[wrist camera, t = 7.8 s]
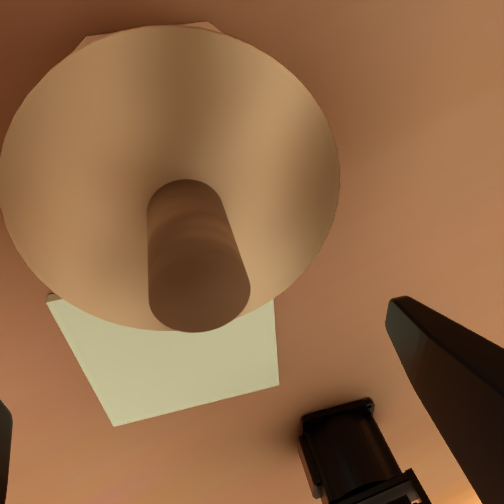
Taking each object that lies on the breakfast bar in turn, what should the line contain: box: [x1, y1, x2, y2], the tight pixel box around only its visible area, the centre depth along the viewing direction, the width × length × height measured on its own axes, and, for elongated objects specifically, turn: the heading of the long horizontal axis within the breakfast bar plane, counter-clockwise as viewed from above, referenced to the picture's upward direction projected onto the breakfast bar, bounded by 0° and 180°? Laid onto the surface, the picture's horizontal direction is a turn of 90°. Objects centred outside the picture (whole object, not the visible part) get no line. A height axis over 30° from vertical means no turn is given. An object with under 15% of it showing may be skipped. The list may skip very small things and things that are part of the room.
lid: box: [0, 25, 340, 333], centre depth 13 cm, size 12×12×5 cm
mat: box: [46, 294, 279, 427], centre depth 25 cm, size 12×12×1 cm
